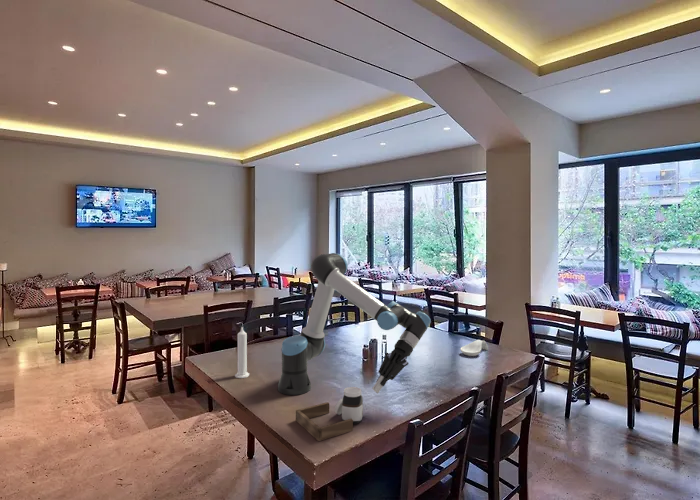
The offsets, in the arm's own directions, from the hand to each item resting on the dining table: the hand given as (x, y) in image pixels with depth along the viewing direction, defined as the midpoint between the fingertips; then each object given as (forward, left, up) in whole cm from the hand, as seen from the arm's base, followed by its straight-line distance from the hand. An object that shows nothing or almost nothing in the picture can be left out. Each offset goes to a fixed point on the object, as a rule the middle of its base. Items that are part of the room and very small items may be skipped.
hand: (375, 391), depth 160 cm
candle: (-69, -32, -9) cm, 77 cm away
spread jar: (-1, -12, -9) cm, 15 cm away
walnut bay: (-1, -23, -8) cm, 25 cm away
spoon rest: (-33, +101, -9) cm, 107 cm away
